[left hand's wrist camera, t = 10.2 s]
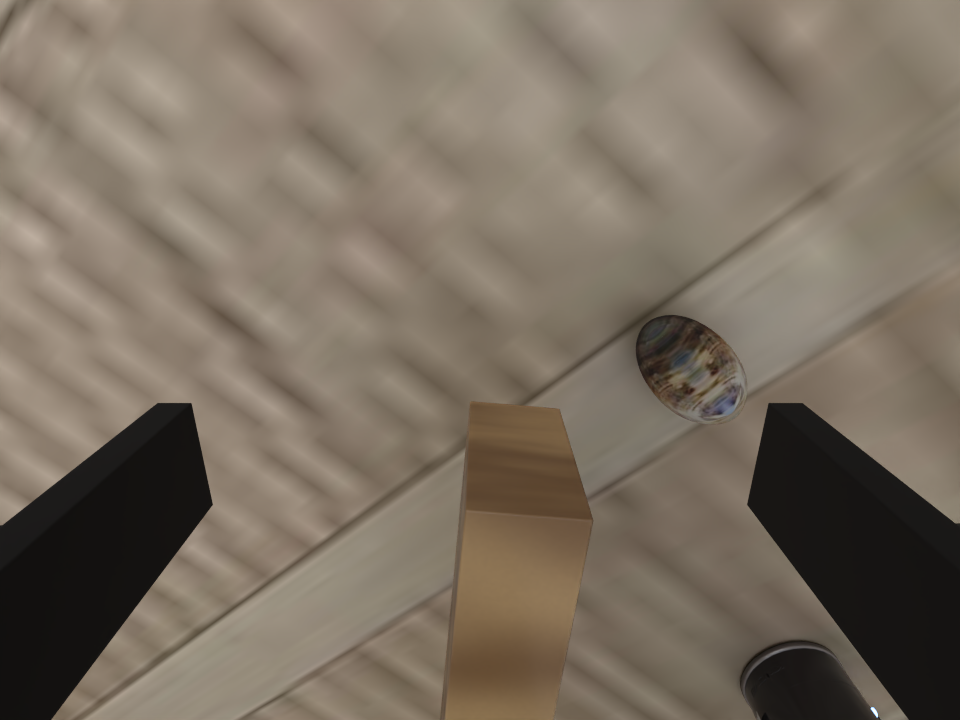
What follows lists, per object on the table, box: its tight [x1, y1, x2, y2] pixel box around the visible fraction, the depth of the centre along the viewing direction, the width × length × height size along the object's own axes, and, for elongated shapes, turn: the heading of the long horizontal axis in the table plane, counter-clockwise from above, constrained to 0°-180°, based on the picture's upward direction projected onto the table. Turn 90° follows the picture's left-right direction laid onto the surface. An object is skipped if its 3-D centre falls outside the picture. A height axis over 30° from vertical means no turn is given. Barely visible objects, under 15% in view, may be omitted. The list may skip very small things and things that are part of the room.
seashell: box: [636, 315, 747, 424], centre depth 37 cm, size 10×6×8 cm, turn 45°
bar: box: [440, 401, 593, 720], centre depth 29 cm, size 25×5×9 cm, turn 175°
